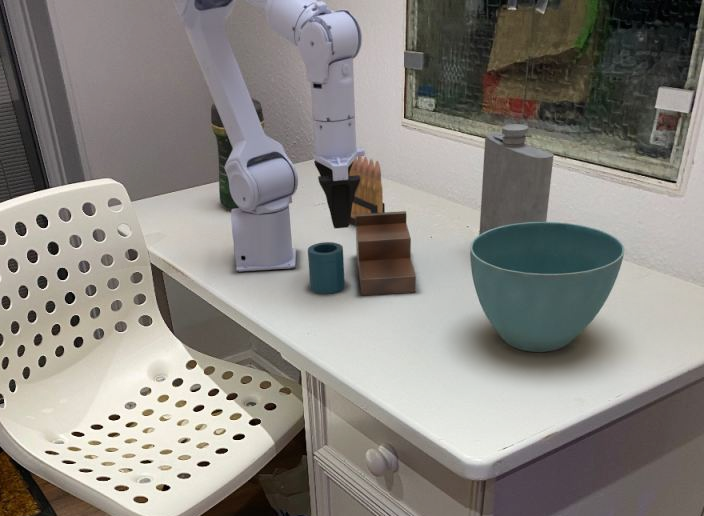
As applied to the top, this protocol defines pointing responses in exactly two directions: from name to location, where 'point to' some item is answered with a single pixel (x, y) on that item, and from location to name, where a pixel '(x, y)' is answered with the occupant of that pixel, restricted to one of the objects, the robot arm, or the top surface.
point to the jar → (326, 267)
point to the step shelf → (384, 253)
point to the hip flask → (514, 179)
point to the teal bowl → (543, 280)
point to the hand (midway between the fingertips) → (338, 218)
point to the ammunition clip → (367, 188)
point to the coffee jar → (227, 152)
